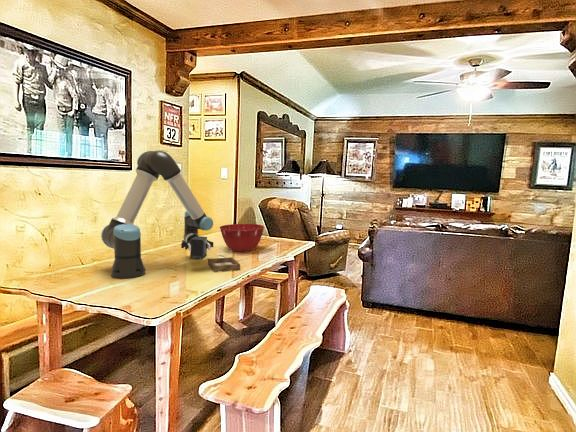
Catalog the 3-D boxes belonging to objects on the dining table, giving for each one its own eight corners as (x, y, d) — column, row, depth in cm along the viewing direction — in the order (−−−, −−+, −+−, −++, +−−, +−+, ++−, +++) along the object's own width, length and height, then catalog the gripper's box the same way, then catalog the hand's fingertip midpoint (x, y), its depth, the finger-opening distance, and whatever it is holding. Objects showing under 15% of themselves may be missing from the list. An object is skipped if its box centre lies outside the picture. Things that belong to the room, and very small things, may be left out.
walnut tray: (213, 272, 189) (213, 266, 189) (207, 264, 205) (207, 258, 205) (240, 270, 194) (240, 264, 194) (232, 262, 210) (232, 257, 210)
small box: (202, 260, 189) (203, 239, 188) (189, 259, 189) (189, 238, 188) (207, 256, 200) (207, 236, 199) (195, 255, 200) (195, 235, 199)
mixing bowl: (242, 256, 226) (242, 231, 224) (210, 250, 243) (210, 226, 241) (273, 249, 248) (273, 226, 246) (241, 244, 265) (241, 222, 264)
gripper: (213, 246, 215) (221, 254, 194) (173, 248, 207) (177, 256, 186) (213, 233, 214) (221, 239, 193) (173, 234, 206) (177, 240, 185)
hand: (200, 247), depth 190 cm, fingers closed on small box, 9 cm apart
